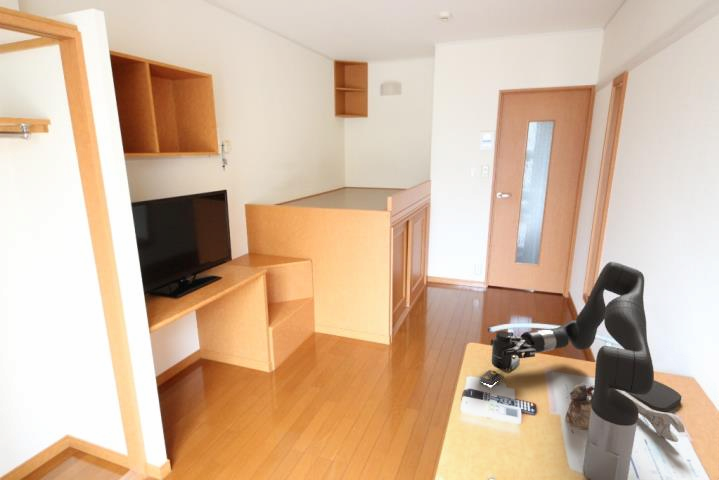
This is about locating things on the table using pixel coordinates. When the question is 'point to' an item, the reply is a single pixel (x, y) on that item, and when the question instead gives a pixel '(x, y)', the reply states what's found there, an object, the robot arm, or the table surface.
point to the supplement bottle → (498, 346)
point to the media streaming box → (659, 398)
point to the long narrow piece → (493, 377)
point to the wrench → (658, 419)
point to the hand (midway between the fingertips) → (497, 347)
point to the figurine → (580, 407)
